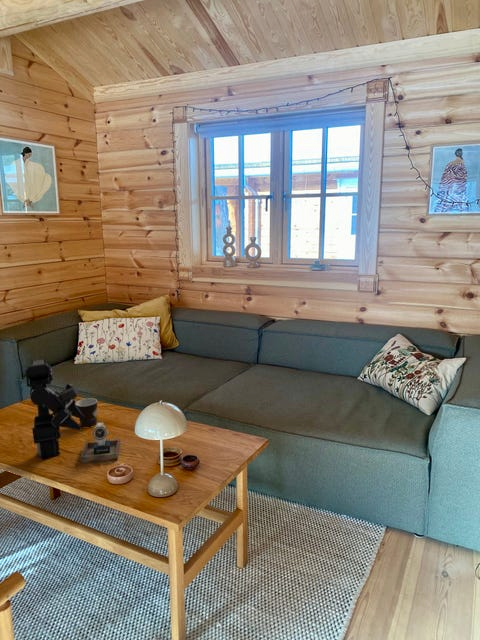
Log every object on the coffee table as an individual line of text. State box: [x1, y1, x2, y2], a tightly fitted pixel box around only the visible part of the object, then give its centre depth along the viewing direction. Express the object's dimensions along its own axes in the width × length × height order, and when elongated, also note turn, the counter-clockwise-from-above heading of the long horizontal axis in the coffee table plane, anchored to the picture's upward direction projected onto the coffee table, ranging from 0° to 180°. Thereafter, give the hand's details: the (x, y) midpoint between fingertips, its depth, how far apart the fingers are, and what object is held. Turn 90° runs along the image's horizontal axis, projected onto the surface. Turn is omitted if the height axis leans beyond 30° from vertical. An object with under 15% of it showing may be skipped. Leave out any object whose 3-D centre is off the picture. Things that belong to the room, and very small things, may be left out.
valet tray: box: [80, 438, 122, 465], centre depth 172 cm, size 13×12×3 cm
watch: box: [92, 422, 111, 455], centre depth 171 cm, size 6×8×11 cm
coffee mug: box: [76, 397, 98, 428], centre depth 198 cm, size 12×9×10 cm
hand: (82, 423), depth 169 cm, fingers open, 9 cm apart
